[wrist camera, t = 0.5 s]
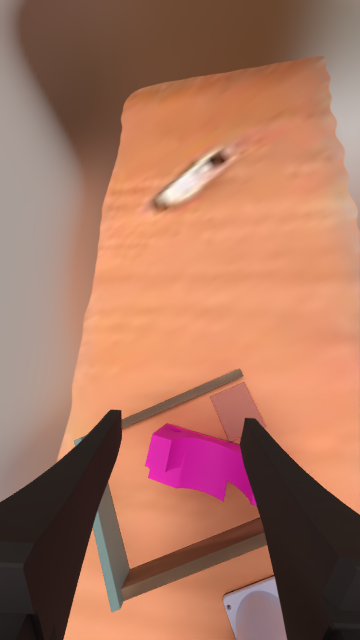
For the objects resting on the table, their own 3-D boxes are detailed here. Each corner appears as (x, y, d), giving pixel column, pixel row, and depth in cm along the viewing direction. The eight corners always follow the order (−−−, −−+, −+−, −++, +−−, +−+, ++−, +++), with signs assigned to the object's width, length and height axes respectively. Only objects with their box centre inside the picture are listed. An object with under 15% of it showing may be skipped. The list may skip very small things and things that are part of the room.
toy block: (157, 465, 34) (139, 488, 26) (166, 423, 35) (152, 434, 28) (257, 500, 30) (267, 538, 23) (263, 452, 31) (274, 473, 24)
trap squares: (298, 492, 30) (299, 493, 29) (258, 508, 30) (258, 509, 30) (244, 382, 35) (244, 382, 34) (210, 396, 35) (210, 396, 35)
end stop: (132, 580, 30) (120, 609, 26) (124, 583, 30) (111, 612, 26) (95, 431, 36) (80, 437, 33) (88, 434, 37) (74, 440, 33)
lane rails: (307, 510, 29) (317, 525, 26) (132, 580, 30) (123, 601, 27) (237, 369, 35) (239, 368, 32) (95, 431, 36) (84, 436, 34)
